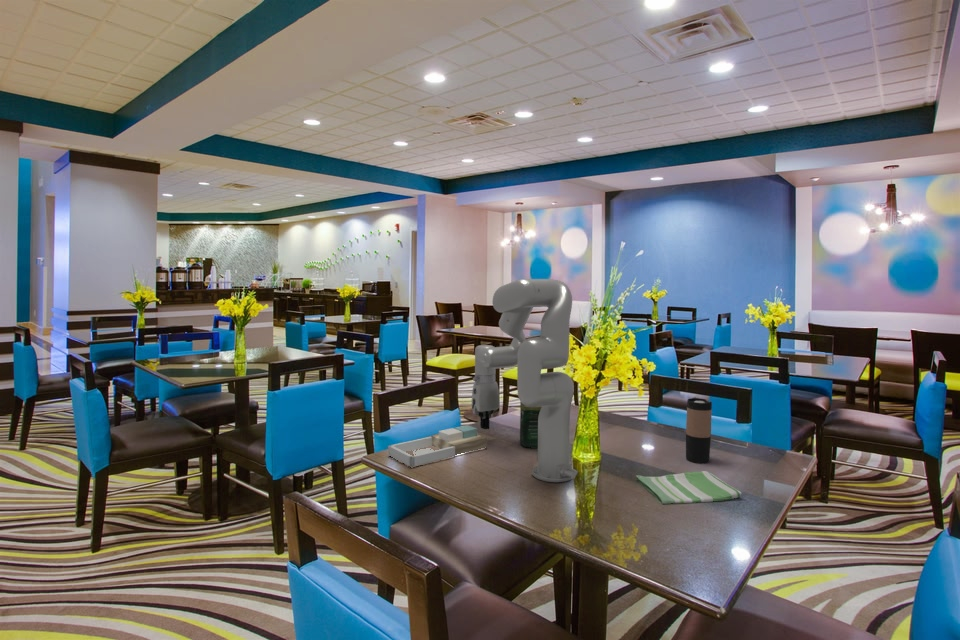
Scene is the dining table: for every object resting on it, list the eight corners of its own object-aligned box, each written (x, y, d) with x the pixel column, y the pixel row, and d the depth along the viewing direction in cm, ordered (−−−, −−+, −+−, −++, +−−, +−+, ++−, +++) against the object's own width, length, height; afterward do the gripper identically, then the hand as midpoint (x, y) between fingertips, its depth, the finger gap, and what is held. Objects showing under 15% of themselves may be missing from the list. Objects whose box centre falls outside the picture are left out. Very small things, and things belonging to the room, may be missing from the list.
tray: (455, 457, 175) (455, 447, 175) (411, 468, 164) (411, 457, 164) (430, 446, 186) (430, 436, 186) (388, 455, 176) (388, 445, 176)
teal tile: (477, 435, 186) (477, 428, 186) (463, 438, 182) (463, 431, 182) (467, 431, 191) (467, 425, 191) (453, 434, 187) (453, 427, 187)
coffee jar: (544, 448, 185) (545, 396, 183) (522, 448, 184) (523, 397, 183) (539, 440, 194) (539, 390, 193) (518, 440, 194) (518, 391, 192)
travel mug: (683, 461, 172) (685, 401, 170) (686, 454, 178) (688, 397, 177) (709, 465, 168) (711, 404, 167) (710, 458, 175) (713, 399, 173)
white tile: (462, 438, 182) (462, 431, 182) (448, 442, 178) (448, 434, 178) (452, 434, 187) (452, 428, 187) (438, 437, 183) (438, 430, 183)
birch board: (486, 448, 184) (486, 437, 184) (454, 456, 175) (454, 445, 175) (462, 439, 195) (462, 428, 195) (431, 446, 186) (431, 435, 186)
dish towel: (634, 481, 156) (634, 472, 156) (707, 478, 159) (708, 469, 159) (662, 506, 138) (662, 496, 138) (744, 502, 141) (744, 492, 141)
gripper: (475, 383, 183) (475, 434, 185) (507, 378, 193) (506, 427, 194) (462, 379, 189) (462, 429, 190) (494, 375, 198) (493, 422, 200)
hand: (484, 428), depth 192 cm, fingers closed
